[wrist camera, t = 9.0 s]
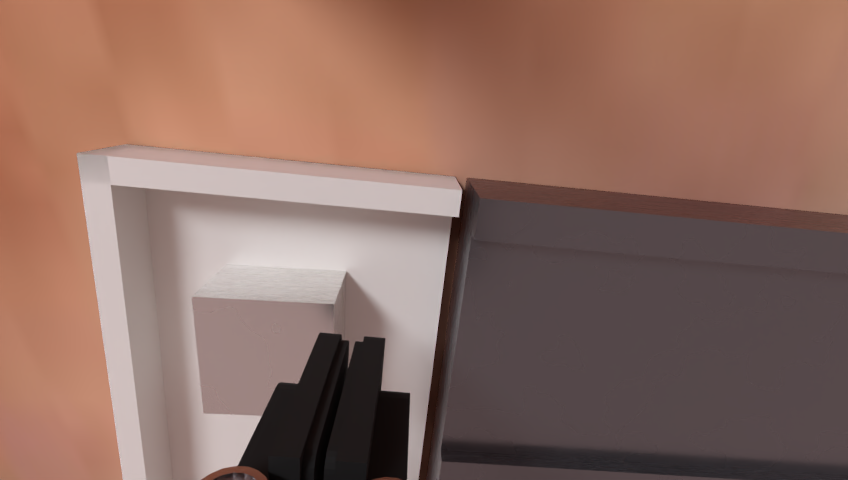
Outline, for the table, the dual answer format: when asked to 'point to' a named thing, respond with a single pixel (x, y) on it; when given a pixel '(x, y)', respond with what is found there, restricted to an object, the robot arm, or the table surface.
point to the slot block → (642, 340)
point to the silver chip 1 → (261, 331)
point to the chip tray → (257, 246)
